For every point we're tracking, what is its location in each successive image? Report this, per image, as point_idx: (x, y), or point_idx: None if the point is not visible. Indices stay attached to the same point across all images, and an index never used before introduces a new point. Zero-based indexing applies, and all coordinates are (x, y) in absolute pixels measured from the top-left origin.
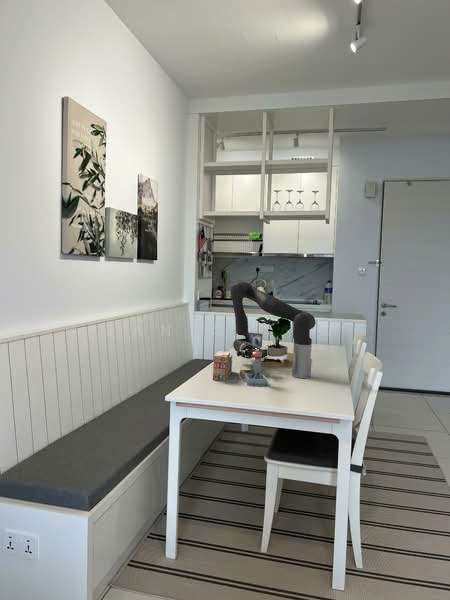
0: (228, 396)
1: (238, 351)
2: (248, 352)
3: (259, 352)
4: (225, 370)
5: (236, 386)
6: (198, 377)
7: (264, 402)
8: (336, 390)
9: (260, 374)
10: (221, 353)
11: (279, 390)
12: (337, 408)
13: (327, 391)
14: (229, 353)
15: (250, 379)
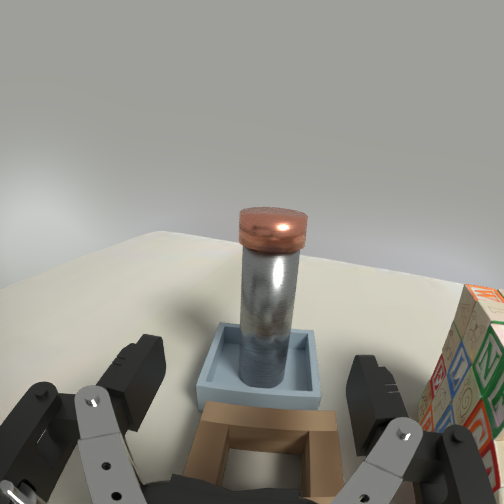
0: (370, 284)
1: (462, 432)
2: (286, 493)
3: (258, 212)
4: (439, 358)
5: (357, 343)
6: None
7: None
8: (32, 286)
9: (207, 401)
10: None
11: (198, 306)
12: (150, 239)
13: (61, 285)
14: None
15: (301, 331)
